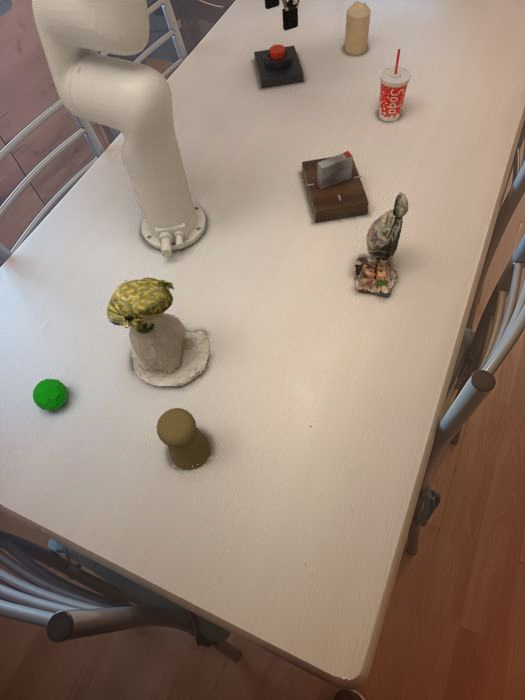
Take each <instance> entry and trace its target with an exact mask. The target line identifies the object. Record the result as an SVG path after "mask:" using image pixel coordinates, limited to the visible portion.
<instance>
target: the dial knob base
mask: <svg viewBox="0 0 525 700" xmlns="http://www.w3.org/2000/svg"><path fill="white" fill-rule="evenodd" d="M332 157H333V156H329V157H322V158H316V159H311V160H305V161H302V162H301V175H302V179H303V182H304V185H305V189H306V193H307V196H308V200H309V205H310V208H311V212H312V215H313V219H314V222H315V224H316V223H322V222H323V223H324V222H328V221H329V222H330V221H334V220H335V221H336V220H342V219H347V218H354V217H360V216H364V215H365V216H366V215H368V212H369V211H368V210H369V204H370V203H369V200H368V197H367V194H366V191H365V189H364V186H363V182H362V180H361V178H363V177H362V175H359V172H358V169H357V165H356V162H355V160H354V159H353V164H352V175H351V178H350V179H348V180H345V181H343V182H340V183H337V184H335V185H332V186H329V187H327V188H324V189H320V187H319V186H318V185H317V163H318V162H321V161H323V160H326V159H329V158H332Z"/></svg>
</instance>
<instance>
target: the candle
mask: <svg viewBox="0 0 525 700" xmlns="http://www.w3.org/2000/svg"><path fill="white" fill-rule="evenodd" d="M371 14H372V13H371V8H370V7H369V5H368V4H367V3H366V2H360V1H359V0H358V1H357V0H356V1H355V2H353V4H351V5H350V6H349V7H348V8H347V10H346V17H345V32H344V33H345V34H344V52H346V53H347V54H349V55H352V56H357V55H362V54H364V53H365V52H366V51H367V49H368V43H369V42H368V41H369V34H370V33H369V32H370V23H371V22H370V21H371Z"/></svg>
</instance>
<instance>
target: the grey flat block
mask: <svg viewBox="0 0 525 700" xmlns="http://www.w3.org/2000/svg"><path fill="white" fill-rule="evenodd" d="M331 157H332V158H329V159H326V160H323V161H321V162H318V163H317V185H318V186H319V187H320V189H324V188H327V187H329V186H332V185H335V184H337V183H340V182H343V181H345V180H348V179H350V178H351V175H352V164H353V160H354V156H353V154H352V153H351V152H350V151H349V150H346V151H344V152H343V153H340V154H338V155H335V156H331Z"/></svg>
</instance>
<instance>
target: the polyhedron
mask: <svg viewBox="0 0 525 700" xmlns="http://www.w3.org/2000/svg"><path fill="white" fill-rule="evenodd" d="M32 398H33V402H34V404H35V405H36V406H37V407H38V408H40V409H41V410H43V411H55V410H58V409H60V408H62V407H63V405H65V403H66V401H67V399H68V389H67V386H66V385H65V384H64V383H63V382H61V381H60V380H59V379H55V378H45V379H43V380H41V381H39V382H38V383H37V384H36V385H35V386H34V388H33V390H32Z"/></svg>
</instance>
